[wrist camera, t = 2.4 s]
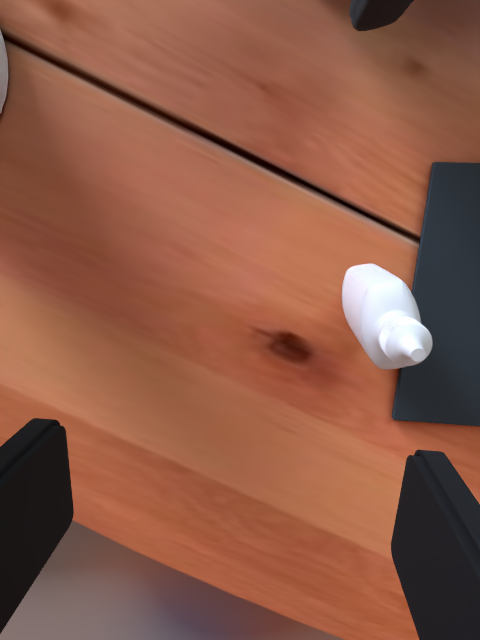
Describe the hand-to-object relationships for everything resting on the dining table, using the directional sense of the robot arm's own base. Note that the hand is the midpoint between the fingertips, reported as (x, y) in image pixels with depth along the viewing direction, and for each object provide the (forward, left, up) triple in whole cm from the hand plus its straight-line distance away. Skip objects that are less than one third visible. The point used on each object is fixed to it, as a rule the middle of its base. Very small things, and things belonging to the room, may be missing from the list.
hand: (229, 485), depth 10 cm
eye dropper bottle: (0, +8, -22) cm, 24 cm away
